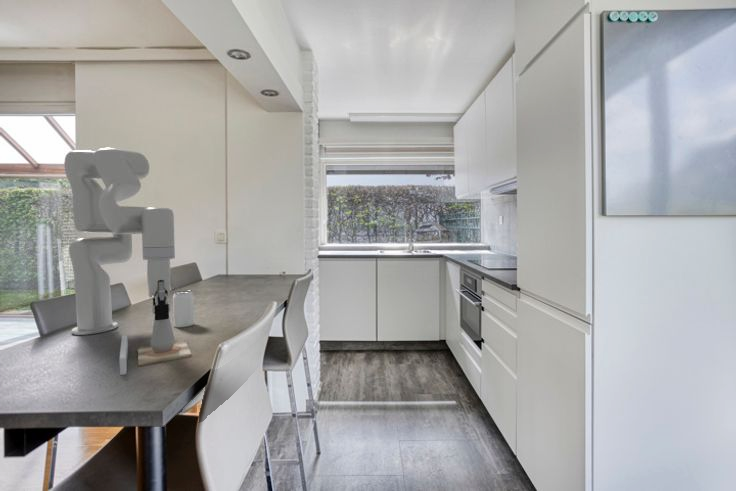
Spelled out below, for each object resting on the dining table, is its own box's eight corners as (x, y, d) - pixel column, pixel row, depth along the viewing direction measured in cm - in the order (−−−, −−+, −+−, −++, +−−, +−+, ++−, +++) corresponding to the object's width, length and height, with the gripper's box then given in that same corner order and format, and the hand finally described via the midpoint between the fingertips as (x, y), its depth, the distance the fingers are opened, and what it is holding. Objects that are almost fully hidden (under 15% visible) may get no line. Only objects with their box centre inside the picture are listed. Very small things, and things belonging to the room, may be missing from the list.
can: (180, 329, 122) (179, 294, 121) (170, 326, 125) (168, 292, 124) (198, 324, 127) (197, 291, 127) (187, 322, 131) (186, 289, 130)
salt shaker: (179, 347, 101) (177, 301, 100) (166, 354, 95) (164, 306, 95) (160, 346, 102) (158, 301, 101) (146, 354, 96) (143, 306, 95)
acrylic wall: (122, 348, 102) (122, 335, 102) (127, 348, 103) (127, 334, 103) (120, 375, 84) (119, 358, 84) (126, 374, 85) (125, 357, 84)
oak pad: (137, 350, 101) (137, 347, 101) (185, 342, 108) (185, 339, 107) (138, 366, 89) (138, 363, 89) (191, 356, 96) (191, 353, 96)
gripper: (142, 251, 102) (144, 310, 103) (143, 257, 88) (145, 325, 89) (171, 250, 106) (173, 306, 107) (177, 255, 92) (179, 321, 93)
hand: (160, 315), depth 98 cm, fingers open, 9 cm apart
